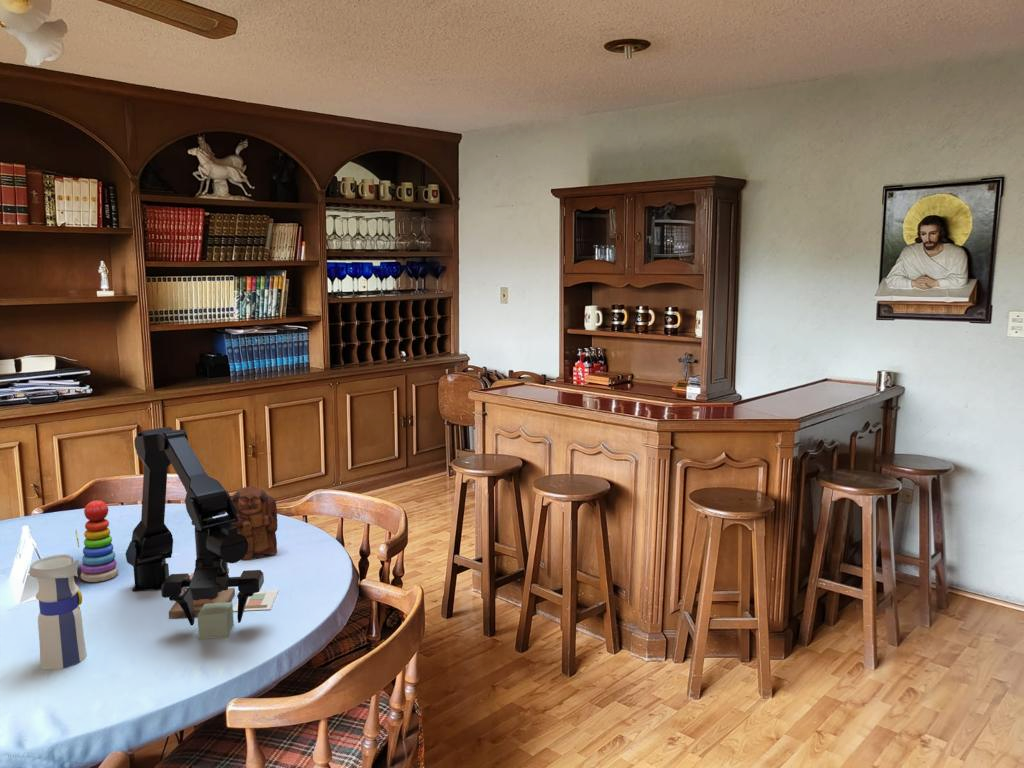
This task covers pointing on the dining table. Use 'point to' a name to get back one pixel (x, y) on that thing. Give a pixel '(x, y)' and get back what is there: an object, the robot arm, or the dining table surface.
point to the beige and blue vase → (59, 612)
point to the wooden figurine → (256, 521)
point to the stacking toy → (97, 545)
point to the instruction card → (259, 601)
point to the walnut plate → (221, 598)
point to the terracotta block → (202, 601)
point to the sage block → (215, 620)
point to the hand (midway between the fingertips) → (216, 623)
